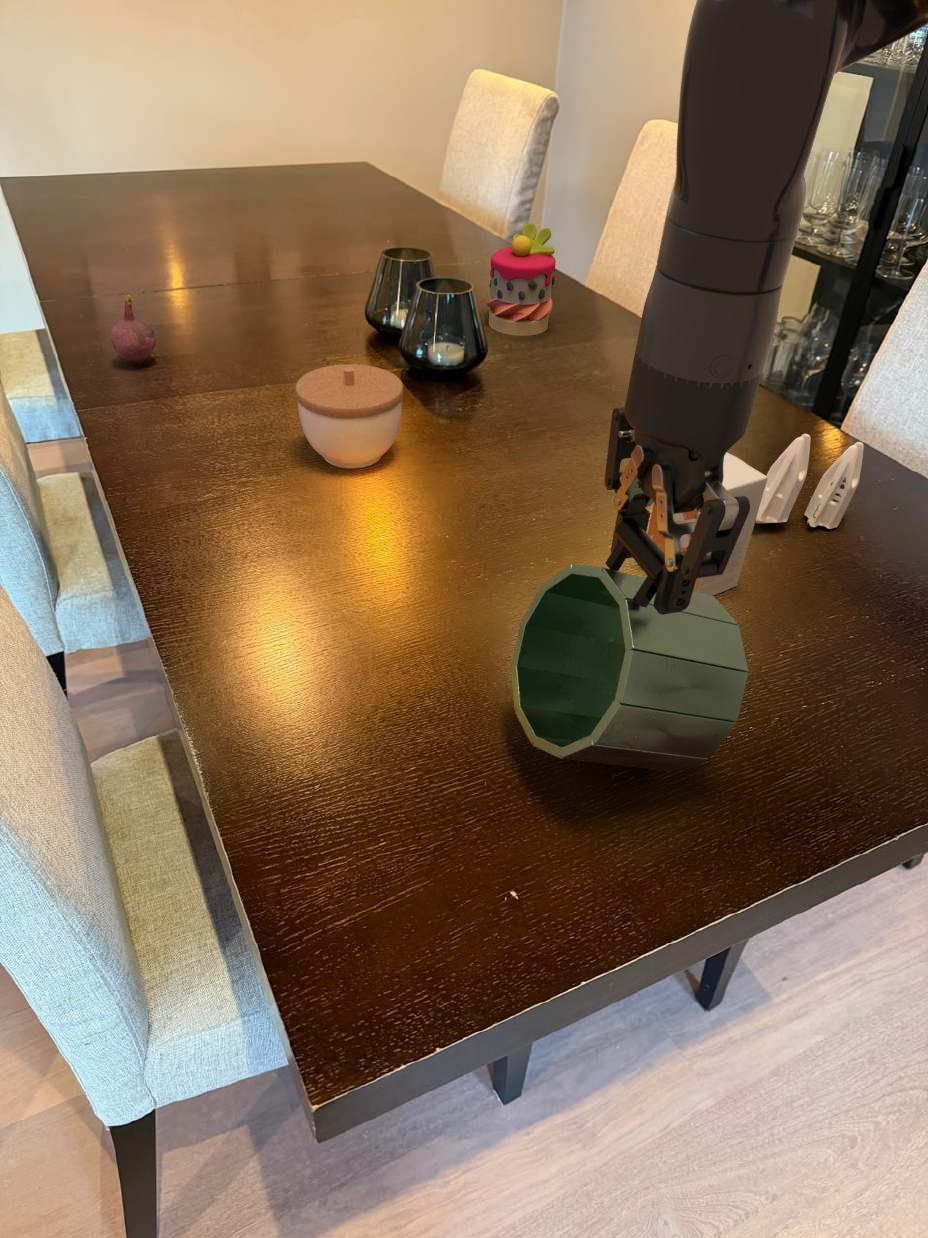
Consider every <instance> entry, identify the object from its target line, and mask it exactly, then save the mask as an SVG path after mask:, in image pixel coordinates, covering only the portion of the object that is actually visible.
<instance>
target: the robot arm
mask: <svg viewBox="0 0 928 1238" xmlns="http://www.w3.org/2000/svg"><path fill="white" fill-rule="evenodd" d="M926 26H928V0H696V2H695V5H694V8H693V12H692V15H691V20H690V23H689V28H688V32H687V37H686V42H685V48H684V54H683V62H682V71H681V79H680V90H679V104H678V115H677V117H678V118H677V129H676V130H677V133H676V149H675V150H676V152H675V153H676V154H675V155H676V156H675V158H676V160H675V161H676V162H675V176H674V181H673V186H672V189H671V193H670V197H669V200H668V204H667V209H666V213H665V214H666V215H665V218H664V223H663V228H662V234H661V240H660V245H659V248H658V254H657V260H656V266H655V269H654V273H653V277H652V279H651V282H650V286H649V289H648V292H647V295H646V297H645V301H644V306H643V310H642V314H641V318H640V325H639V329H638V336H637V340H636V346H635V351H634V356H633V361H632V366H631V373H630V377H629V381H628V387H627V392H626V399H625V404H624V406H623V407H615V408H613V410H612V412H611V421H610V428H609V438H608V444H607V445H608V446H607V455H606V465H605V471H604V472H605V473H604V486H605V488H606V490H607V491H613V492H614V493H615V495H614V496H613V505H614V508H615V509H616V511H617V514H616V519H615V524H614V525H615V526H614V530H613V534H612V542H611V544H610V545H611V546H610V554H611V553H612V551H613V550H614V548H615V546H616V545H617V543H618V541H619V540H618V539H617V538H616V535H615V530H616V528H617V526H618V525H619V524H620V523H621V522H622V521H624V520H626V519H634V520H636V521H637V522H638V524H639V525H640V526H641V527H642V528H643V529H644V530H645V532H646V533H647V532H648V527H649V523H650V519H651V512H650V511H649V510H648V509H647V508H650V507H651V506H653V504H654V502H655V504H656V509H657V531H658V532H659V534H661V535H663V536H664V546H665V565H663V567H662V571H661V575H660V579H659V583H658V587H657V592H656V596H655V600H654V604H653V606H654V608H655V609H656V610H657V612H658V613H659V614H661V615H663V614H670V613H676V612H681V611H683V610H684V609H686V608H687V607H688V606H689V603H690V600H691V596H692V593H693V589H694V586H695V582H696V578H703V577H710V576H716V575H722V574H723V573H724V570H725V568H726V566H727V563H728V561H729V559H730V556H731V554H732V552H733V549H734V547H735V545H736V542H737V540H738V537H739V535H740V533H741V530H742V528H743V526H744V523H745V521H746V519H747V516H748V514H749V511H750V502H749V500H748V498H747V497H746V496H737V497H732V496H731V495H730V494H729V492H728V491H727V490H726V489H725V487H724V486H723V485H722V483H723V477H724V473H723V462H724V456H725V454H726V452H727V453H728V451H729V450H730V449H731V448H732V447H733V446H734V445H735V444H736V443H738V442H739V441H740V440H741V439H742V438H743V437H744V435H745V434H746V432H747V429H748V426H749V422H750V418H751V415H752V411H753V409H754V406H755V401H756V398H757V394H758V392H759V391H758V390H759V387H760V383H761V380H762V377H763V374H764V370H765V366H766V363H767V362H766V361H767V359H768V356H769V352H770V348H771V346H772V341H773V338H774V334H775V331H776V327H777V322H778V316H779V310H780V301H781V296H782V291H783V286H784V282H785V279H786V275H787V271H788V267H789V266H790V265H789V264H790V262H791V257H792V254H793V250H794V247H795V243H796V240H797V235H798V233H799V230H800V226H801V223H802V221H801V220H802V218H803V213H804V207H805V203H806V202H805V201H806V193H807V184H806V183H807V182H806V179H805V173H806V169H807V166H808V163H809V159H810V156H811V153H812V149H813V146H814V142H815V139H816V135H817V132H818V129H819V125H820V122H821V118H822V115H823V111H824V108H825V104H826V102H827V98H828V95H829V91H830V88H831V86H832V82H833V79H834V77H835V75H836V74H838V73H839V72H841V71H843V70H845V69H847V68H849V67H850V66H852V65H854V64H856V63H858V62H861V61H862V60H864V59H866V58H868V57H869V56H872V55H874V54H875V53H877V52H880V51H881V50H883V49H885V48H887V47H889V46H891V45H893V44H894V43H896V42H899V41H900V40H901V39H904V38H906V37H908V36H909V35H912V34H913V33H916V32H917V31H919V30H921V29H922V28H924V27H926ZM624 459H630V460H629V462H628V463H627V465H626V467H625V468H624V470H623V471H620V470H621V462H622V461H623V460H624ZM696 508H697V512H696V514H695V517H694V518H692V519H689V520H682V521H675V520H674V516H673V514H677V513H685V512H691V511H693V510H695V509H696ZM685 534H691V539H690V542H689V545H688V547H687V550H686V551H683V552H681V544H680V539H681V537H682V536H683V535H685ZM709 552H712V553H711V555H710V556H709V555H708V553H709ZM626 559H633V557H632V556H631V555H630V554H628V556H627V558H626Z"/></svg>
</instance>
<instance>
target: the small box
mask: <svg viewBox="0 0 928 1238" xmlns="http://www.w3.org/2000/svg"><path fill="white" fill-rule="evenodd" d="M723 473H724V477H723V483H722V485H723V486H724V487H725V489H726V490H727V491H728V492H729V494H730V495H731V496H732V497H737V496H746V497H747V498H748V500H749V502H750V511H749V514H748V516H747V519H746V521H745V523H744V526H743V528H742V530H741V533H740V535H739V537H738V540H737V542H736V545H735V547H734V549H733V552H732V554H731V556H730V559H729V561H728V563H727V566H726V568H725V570H724V573H723V574H722V575H716V576H710V577H703V578H696V582H695V586H694V589H693V590H694V591H698V592H702V593H706V594H710V595H712V596H715V595H718V594H721V593H723V592H727V591H728V590H730V589H733V588H735V587H737V586H738V583H739V580H740V576H741V573H742V570H743V566H744V562H745V559H746V556H747V551H748V548H749V544H750V541H751V538H752V534H753V532H754V531H753V530H754V528H755V524H756V517H757V514H758V510H759V506H760V503H761V499H762V496H763V492H764V489H765V486H766V482H767V479H768V477H767V475H765V474H764V473H762V472H760V471H759V470H757V469H755V468H754V467H752V466H751V465H749V464H747V463H746V462H745V461H743V460H742V459H741V458H739V457H737V456H736V455H734V454H731V453H729V452H728V451H727V452H726V454H725V456H724V462H723ZM696 512H697V508H696V509H695V510H693V511H691V512H685V513H677V514H673V516H674V520H675V521H682V520H689V519H692V518H694V517H695V514H696ZM647 534H648V535H649V536H650V537H651V539H652V540H653V541H654V542H655V543H656V544H657V545H658V547H659V548H660V549H661V550H662V551H663V552H664V554H665V546H664V536H663V535H661V534H659V532H658V531H657V509H656V504H655V502H653V504H652V511H651V514H650V518H649V523H648V528H647ZM690 539H691V534H685V535H683V536H682V537H681V539H680V544H681V552H683V551H686V550H687V547H688V545H689V542H690ZM711 553H712V552H709V553H708V555H709V556H710V555H711Z"/></svg>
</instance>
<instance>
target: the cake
mask: <svg viewBox="0 0 928 1238" xmlns="http://www.w3.org/2000/svg"><path fill="white" fill-rule="evenodd" d="M521 230H522V231H521V234H519V233H515V234H514V235H513V236H512V243H511V246H510V247H509V246H508V247H504V248H501V249H498V250H496V251H494V252H493V253H492V254H491V256H490V272H489V276H490V278H491V279H490V281H489V288H490V290H489V294H490V296H491V298H490V299H489V301H487V302H486V304H487V307H488V308H489V311H488V312H489V313H488V326H489V328H491V330H494V331H495V332H498V333H501V334H503V335H508V336H509V335H510V336H516V337H530V336H535V335H540V334H542V333H545V332H546V331H547V330H548V328H549V318H550V314H551V312H552V309H553V303H554V302H553V299H552V291H553V286H554V285H555V282H556V277H555V275H554V273H555V271H556V263H557V261H556V258H555V256H554V254H555V248H554V247H553V246H551V245H545V244H546V243H547V242H548V241H549V240H550V239H551V237H552V231H551V229H550V228H549V227H544V228H542V229H540V230H539V232H538V233H537V226H536V225H535V224H534V223H531V222H527V223H526V224H525V225H524V226H523V227H522V229H521Z"/></svg>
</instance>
